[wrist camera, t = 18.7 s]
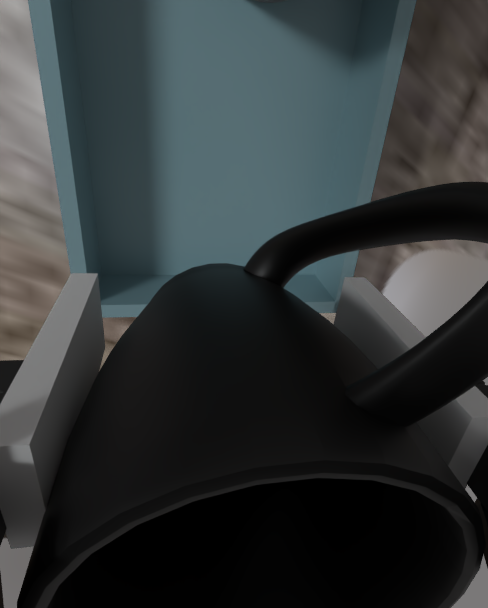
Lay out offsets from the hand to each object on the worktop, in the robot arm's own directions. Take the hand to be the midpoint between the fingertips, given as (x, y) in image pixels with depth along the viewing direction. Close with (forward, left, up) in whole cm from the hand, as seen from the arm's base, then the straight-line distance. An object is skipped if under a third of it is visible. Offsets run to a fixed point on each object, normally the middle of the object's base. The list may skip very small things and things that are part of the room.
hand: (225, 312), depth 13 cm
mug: (0, +1, -2) cm, 2 cm away
